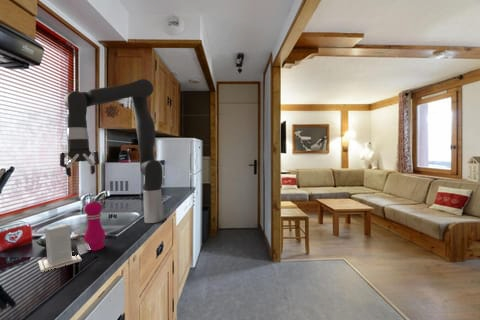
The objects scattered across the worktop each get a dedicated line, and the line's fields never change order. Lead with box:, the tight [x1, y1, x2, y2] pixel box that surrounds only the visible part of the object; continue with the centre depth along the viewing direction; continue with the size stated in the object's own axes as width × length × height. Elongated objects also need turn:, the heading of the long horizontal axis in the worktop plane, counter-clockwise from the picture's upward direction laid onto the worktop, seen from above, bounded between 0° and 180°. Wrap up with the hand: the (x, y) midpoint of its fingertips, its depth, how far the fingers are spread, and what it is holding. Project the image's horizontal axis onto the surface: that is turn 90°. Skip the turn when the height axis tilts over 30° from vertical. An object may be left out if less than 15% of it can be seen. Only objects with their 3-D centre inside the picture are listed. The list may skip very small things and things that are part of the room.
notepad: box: [37, 254, 83, 273], centre depth 84 cm, size 11×10×1 cm
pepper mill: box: [83, 197, 106, 252], centre depth 95 cm, size 7×7×20 cm
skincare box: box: [44, 223, 73, 265], centre depth 83 cm, size 6×4×12 cm
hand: (81, 175), depth 106 cm, fingers open, 8 cm apart
